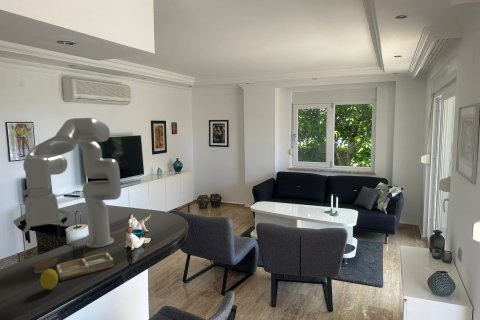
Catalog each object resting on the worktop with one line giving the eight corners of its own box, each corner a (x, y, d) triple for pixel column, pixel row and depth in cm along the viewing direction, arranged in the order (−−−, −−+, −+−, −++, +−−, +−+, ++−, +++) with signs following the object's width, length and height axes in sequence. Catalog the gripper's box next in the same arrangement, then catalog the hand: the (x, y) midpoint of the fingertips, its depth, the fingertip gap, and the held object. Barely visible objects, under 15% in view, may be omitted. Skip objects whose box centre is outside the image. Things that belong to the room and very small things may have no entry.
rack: (57, 271, 138) (56, 264, 138) (107, 258, 150) (107, 252, 149) (60, 280, 130) (59, 273, 130) (114, 266, 141) (113, 259, 141)
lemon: (42, 295, 119) (40, 273, 118) (40, 289, 124) (38, 268, 123) (60, 290, 122) (57, 269, 121) (57, 284, 127) (55, 264, 126)
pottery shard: (50, 276, 138) (63, 258, 153) (49, 270, 138) (62, 253, 152) (28, 278, 137) (43, 260, 152) (27, 272, 137) (42, 255, 151)
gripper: (10, 197, 111) (16, 247, 113) (69, 189, 121) (73, 236, 123) (10, 194, 117) (15, 242, 119) (65, 187, 127) (70, 231, 129)
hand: (44, 239), depth 121 cm, fingers open, 9 cm apart
